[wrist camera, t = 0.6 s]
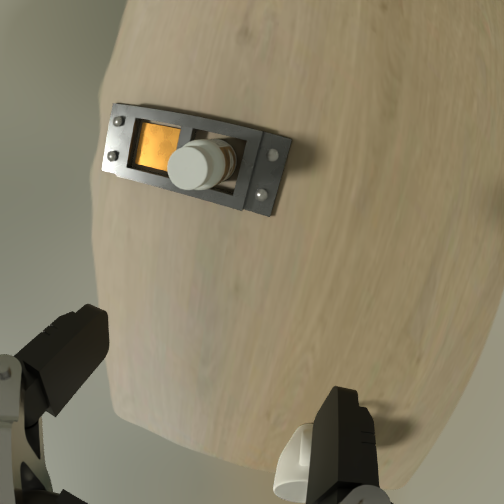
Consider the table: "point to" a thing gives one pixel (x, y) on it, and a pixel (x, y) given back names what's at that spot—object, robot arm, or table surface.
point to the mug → (294, 466)
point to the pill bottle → (201, 164)
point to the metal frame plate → (170, 139)
